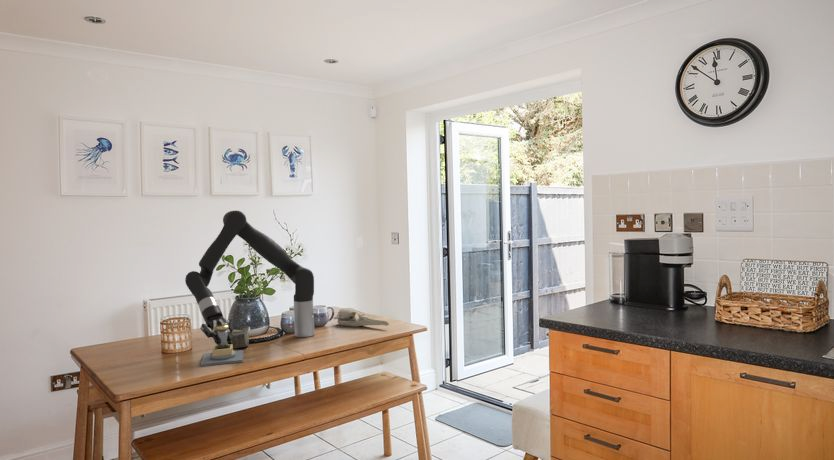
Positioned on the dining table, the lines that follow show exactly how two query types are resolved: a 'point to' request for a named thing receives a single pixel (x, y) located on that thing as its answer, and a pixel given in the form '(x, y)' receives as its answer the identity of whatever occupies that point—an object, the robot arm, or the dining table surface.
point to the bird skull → (348, 319)
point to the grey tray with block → (222, 356)
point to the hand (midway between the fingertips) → (224, 342)
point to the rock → (240, 338)
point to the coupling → (222, 335)
